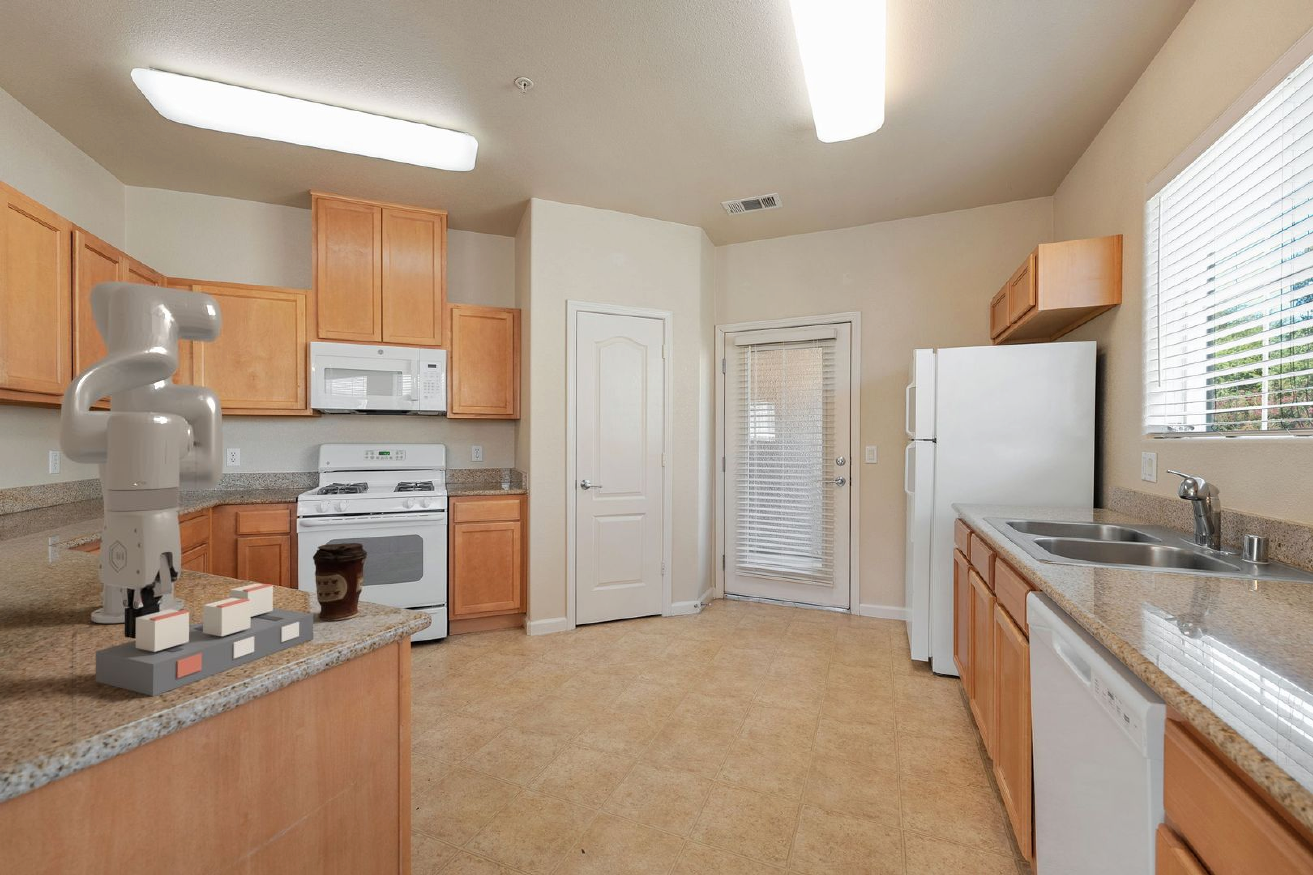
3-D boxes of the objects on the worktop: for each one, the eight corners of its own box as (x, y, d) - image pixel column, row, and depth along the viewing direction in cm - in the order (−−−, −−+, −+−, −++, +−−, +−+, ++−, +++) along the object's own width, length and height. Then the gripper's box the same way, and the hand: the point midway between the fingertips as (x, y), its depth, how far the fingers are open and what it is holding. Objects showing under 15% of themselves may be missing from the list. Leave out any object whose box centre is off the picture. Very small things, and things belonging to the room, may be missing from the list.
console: (95, 681, 75) (96, 650, 75) (261, 629, 96) (261, 605, 96) (154, 696, 71) (154, 663, 71) (313, 638, 92) (314, 613, 92)
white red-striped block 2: (230, 614, 90) (230, 588, 90) (255, 607, 94) (255, 582, 94) (247, 617, 88) (248, 590, 88) (272, 610, 92) (273, 584, 92)
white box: (135, 647, 76) (135, 616, 76) (170, 637, 79) (170, 607, 79) (154, 651, 74) (154, 619, 74) (188, 641, 78) (189, 611, 78)
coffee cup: (341, 625, 98) (341, 550, 98) (299, 622, 100) (300, 548, 100) (375, 611, 107) (376, 542, 107) (337, 608, 108) (337, 540, 108)
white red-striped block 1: (202, 632, 82) (203, 603, 82) (231, 624, 85) (232, 596, 85) (221, 636, 80) (221, 606, 80) (250, 627, 84) (250, 599, 84)
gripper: (76, 501, 77) (75, 636, 77) (144, 507, 72) (143, 651, 72) (142, 496, 84) (141, 620, 84) (209, 501, 79) (207, 632, 79)
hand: (142, 634), depth 78 cm, fingers closed
